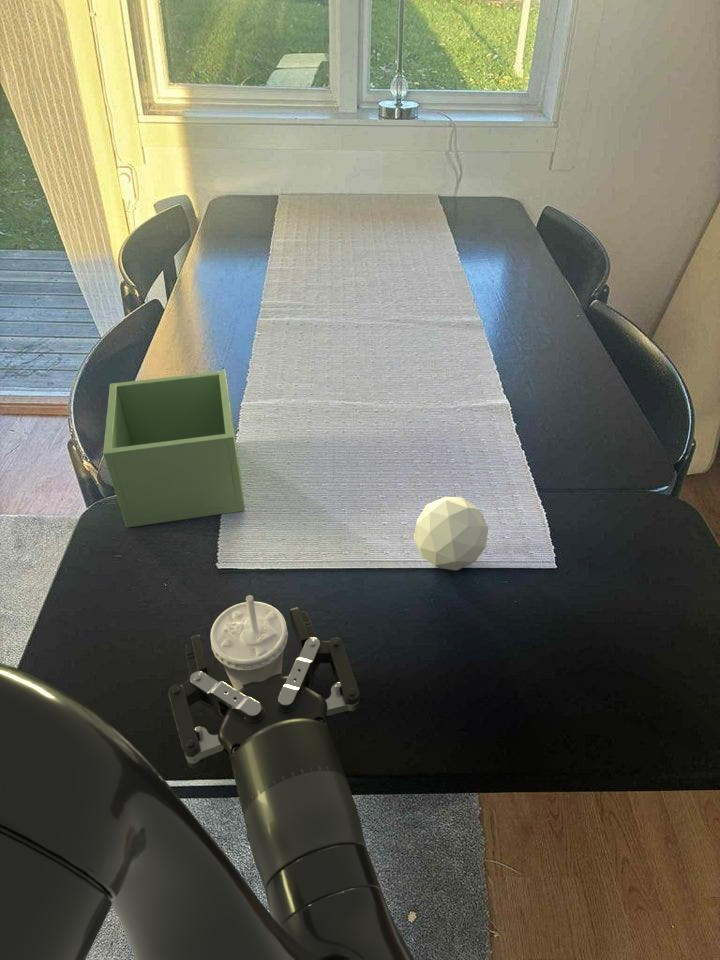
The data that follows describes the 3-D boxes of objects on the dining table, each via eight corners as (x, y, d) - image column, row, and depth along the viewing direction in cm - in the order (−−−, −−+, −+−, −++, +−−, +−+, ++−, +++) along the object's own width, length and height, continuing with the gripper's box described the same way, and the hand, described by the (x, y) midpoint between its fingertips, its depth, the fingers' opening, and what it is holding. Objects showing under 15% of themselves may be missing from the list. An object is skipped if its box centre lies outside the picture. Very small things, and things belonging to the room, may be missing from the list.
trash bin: (126, 528, 81) (102, 453, 73) (130, 455, 91) (110, 383, 83) (244, 510, 83) (233, 437, 75) (235, 441, 93) (225, 370, 85)
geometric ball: (463, 581, 78) (498, 571, 71) (397, 564, 76) (426, 553, 69) (471, 516, 80) (506, 500, 73) (407, 498, 78) (437, 480, 71)
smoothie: (285, 731, 61) (271, 635, 52) (215, 721, 62) (189, 624, 53) (301, 669, 66) (291, 571, 57) (236, 660, 67) (216, 562, 58)
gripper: (394, 745, 48) (323, 576, 60) (186, 818, 44) (153, 623, 56) (391, 795, 53) (325, 630, 65) (204, 864, 49) (170, 676, 61)
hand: (245, 627), depth 60 cm, fingers open, 8 cm apart
